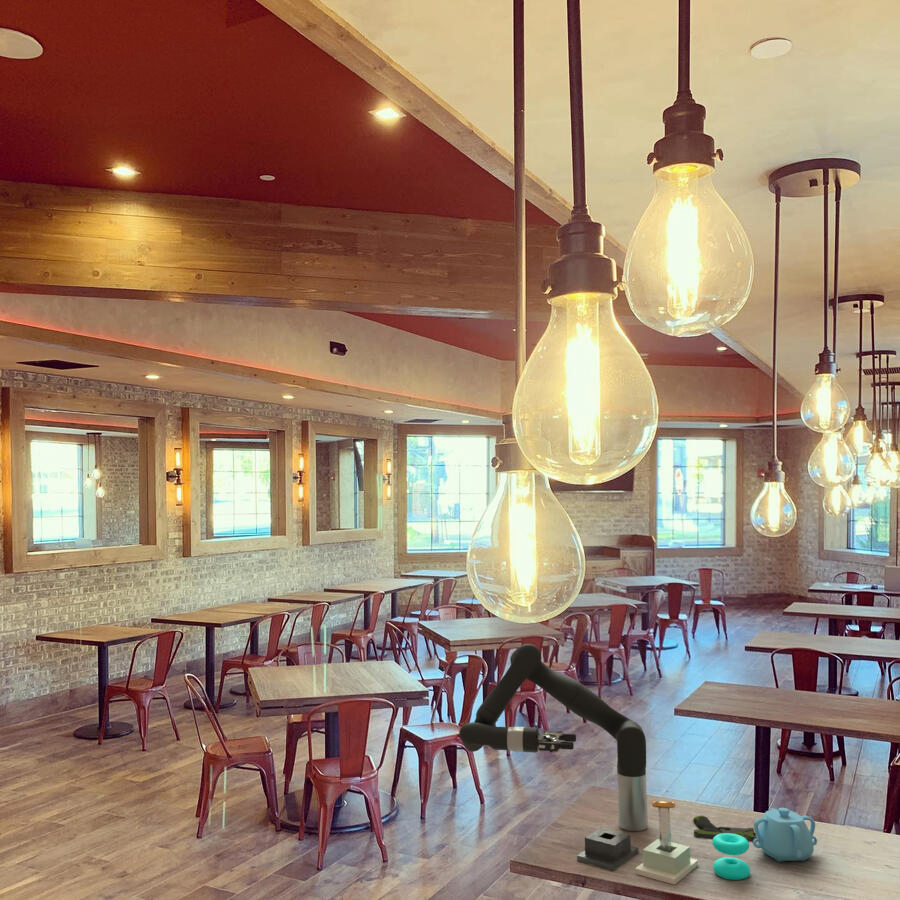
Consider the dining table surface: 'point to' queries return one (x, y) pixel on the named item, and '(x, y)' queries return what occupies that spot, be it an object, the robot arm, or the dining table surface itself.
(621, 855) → the block
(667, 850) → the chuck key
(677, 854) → the pale green socket base
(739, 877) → the donuts
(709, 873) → the dining table surface
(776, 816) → the decorative pot
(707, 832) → the gun
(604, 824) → the dining table surface
